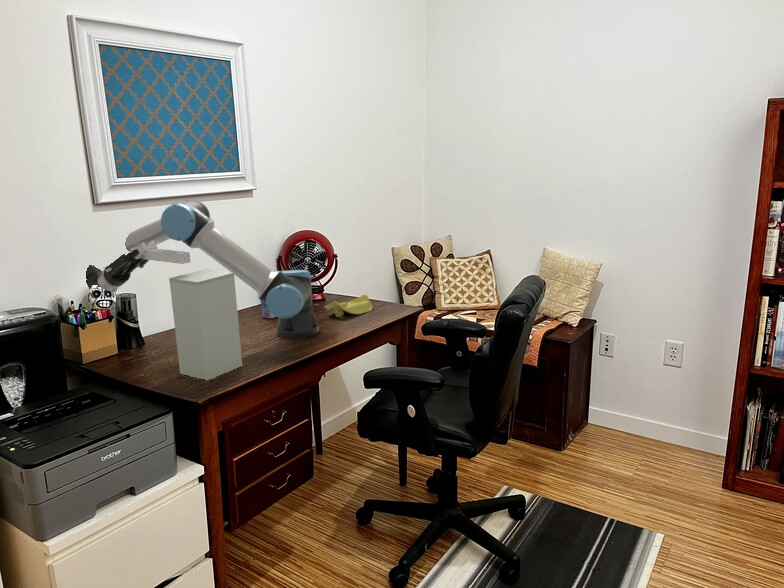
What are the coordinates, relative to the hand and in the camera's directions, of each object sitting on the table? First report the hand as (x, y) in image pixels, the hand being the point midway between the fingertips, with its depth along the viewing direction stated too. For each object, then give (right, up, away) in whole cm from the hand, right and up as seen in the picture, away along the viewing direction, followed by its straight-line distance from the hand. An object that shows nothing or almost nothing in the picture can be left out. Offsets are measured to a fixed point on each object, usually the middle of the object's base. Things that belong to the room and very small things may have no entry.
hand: (149, 245), depth 194 cm
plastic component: (+57, -23, +58) cm, 85 cm away
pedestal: (+20, -39, -2) cm, 44 cm away
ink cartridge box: (+28, -24, +58) cm, 69 cm away
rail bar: (+4, -5, -1) cm, 6 cm away
